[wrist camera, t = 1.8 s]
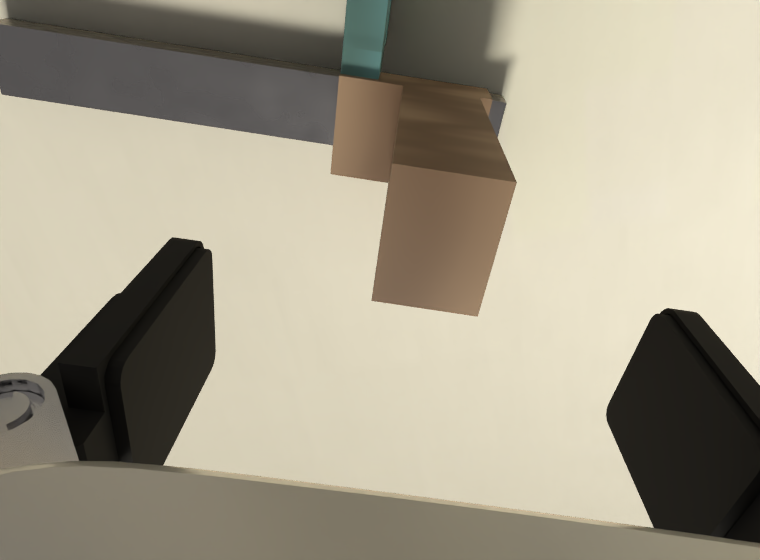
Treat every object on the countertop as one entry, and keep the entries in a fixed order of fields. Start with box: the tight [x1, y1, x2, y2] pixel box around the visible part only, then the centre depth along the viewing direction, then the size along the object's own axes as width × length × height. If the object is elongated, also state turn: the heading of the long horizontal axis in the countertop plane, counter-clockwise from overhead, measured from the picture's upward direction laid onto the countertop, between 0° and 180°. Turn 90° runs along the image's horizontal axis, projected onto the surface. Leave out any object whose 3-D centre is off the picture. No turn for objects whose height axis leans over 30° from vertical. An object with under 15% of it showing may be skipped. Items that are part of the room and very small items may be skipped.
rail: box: [0, 18, 506, 145], centre depth 23 cm, size 22×3×2 cm, turn 82°
